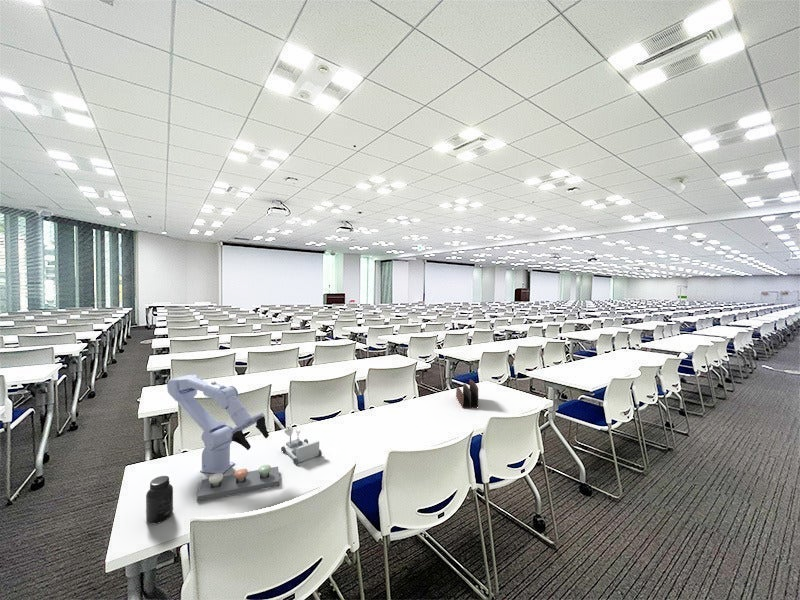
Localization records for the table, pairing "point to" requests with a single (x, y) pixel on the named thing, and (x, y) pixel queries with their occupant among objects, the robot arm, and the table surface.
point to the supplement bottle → (159, 500)
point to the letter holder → (468, 395)
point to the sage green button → (264, 470)
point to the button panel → (238, 485)
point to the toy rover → (300, 448)
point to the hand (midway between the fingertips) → (258, 442)
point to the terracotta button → (241, 474)
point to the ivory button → (216, 479)
